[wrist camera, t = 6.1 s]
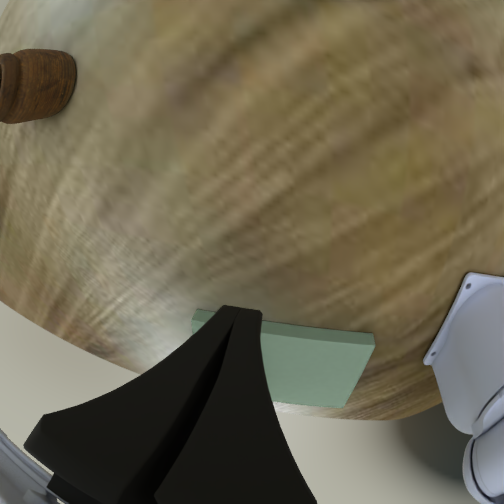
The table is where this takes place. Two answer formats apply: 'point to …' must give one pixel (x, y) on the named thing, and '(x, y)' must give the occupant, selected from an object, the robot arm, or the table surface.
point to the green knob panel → (308, 361)
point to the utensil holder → (34, 84)
